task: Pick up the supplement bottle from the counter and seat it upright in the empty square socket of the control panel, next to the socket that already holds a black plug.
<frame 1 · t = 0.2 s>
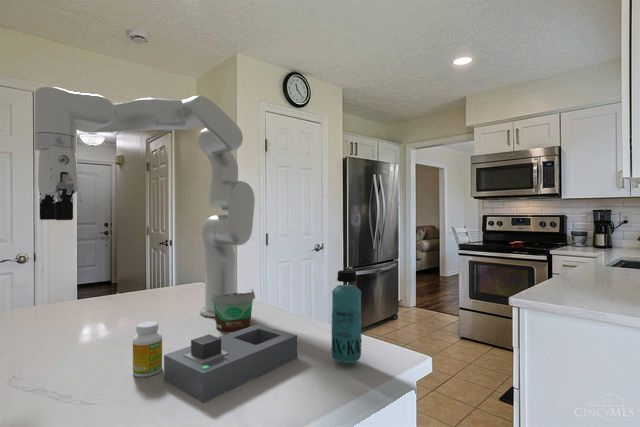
hand: (56, 219, 81), 31 cm above the counter, fingers open, 9 cm apart
control panel: (235, 368, 74), on the counter
supplement bottle: (147, 372, 73), on the counter
beverage bottle: (346, 364, 76), on the counter
food container: (236, 330, 99), on the counter
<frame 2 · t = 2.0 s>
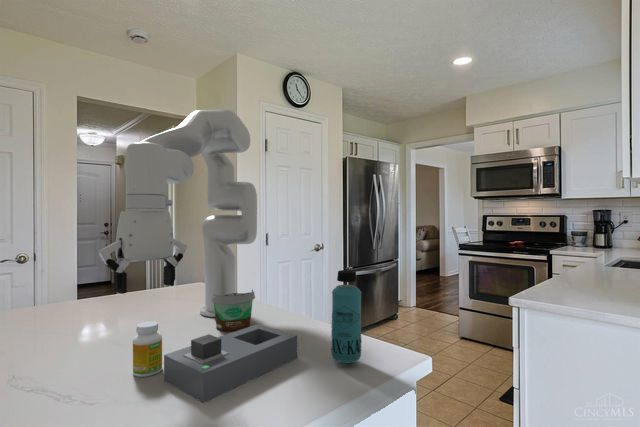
hand: (146, 288, 72), 17 cm above the counter, fingers open, 9 cm apart
nothing on the counter moved.
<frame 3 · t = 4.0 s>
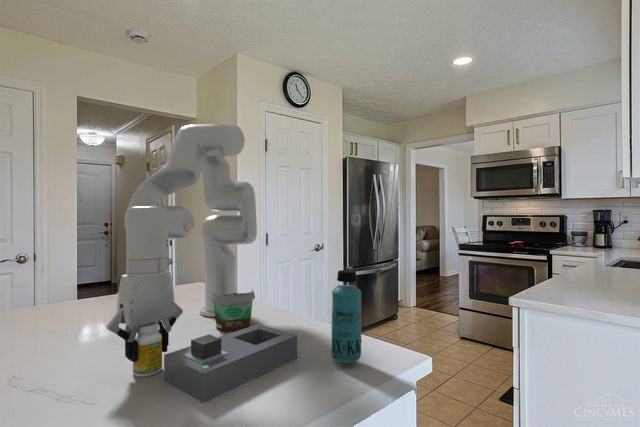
hand: (147, 354, 73), 4 cm above the counter, fingers closed on supplement bottle, 5 cm apart
supplement bottle: (147, 372, 73), on the counter, touching gripper
everything else where it was.
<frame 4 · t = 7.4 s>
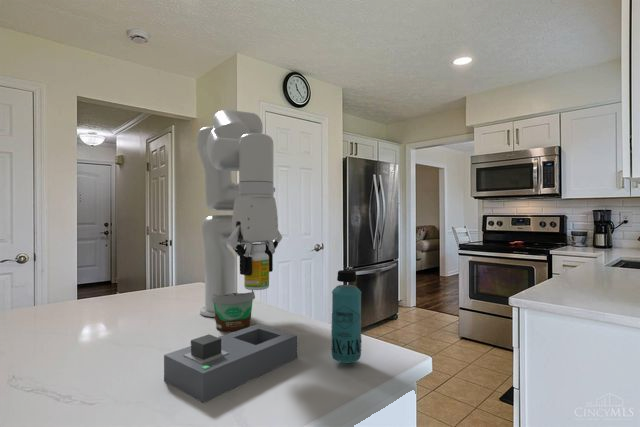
hand: (256, 272, 79), 19 cm above the counter, fingers closed on supplement bottle, 5 cm apart
supplement bottle: (256, 288, 79), point 16 cm above the counter, touching gripper
everything else where it was.
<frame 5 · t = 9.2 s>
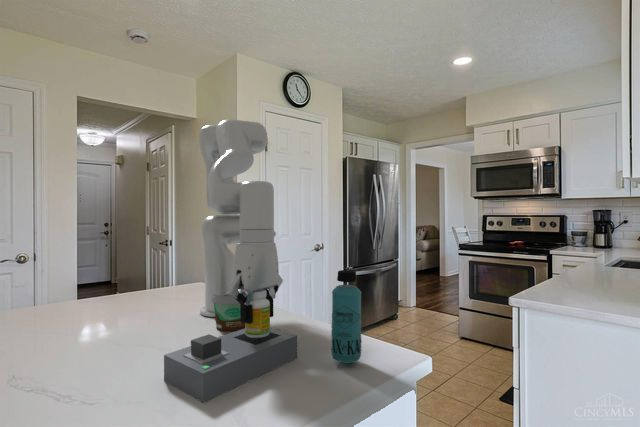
hand: (257, 318, 79), 9 cm above the counter, fingers closed on supplement bottle, 5 cm apart
supplement bottle: (257, 335, 79), point 5 cm above the counter, touching gripper
everything else where it was.
when the fingers open (6 cm above the counter, at t = 10.6 s): supplement bottle drops 2 cm, resting on control panel.
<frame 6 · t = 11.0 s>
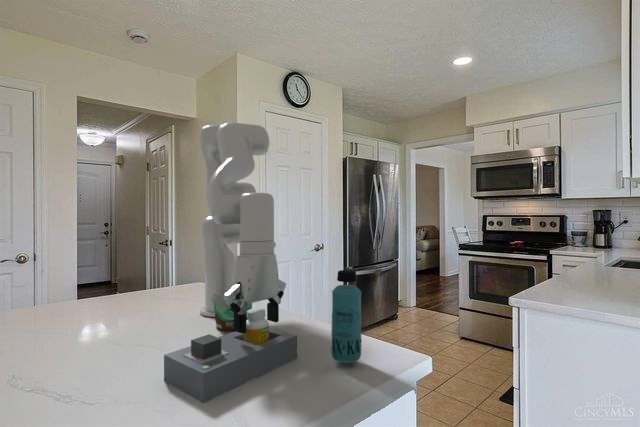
hand: (257, 326, 79), 7 cm above the counter, fingers open, 9 cm apart
supplement bottle: (256, 355, 79), point 1 cm above the counter, touching control panel
everything else where it was.
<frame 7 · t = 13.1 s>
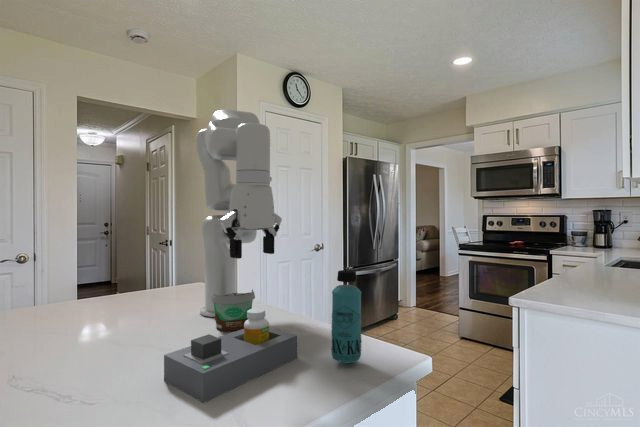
hand: (253, 255, 81), 23 cm above the counter, fingers open, 9 cm apart
nothing on the counter moved.
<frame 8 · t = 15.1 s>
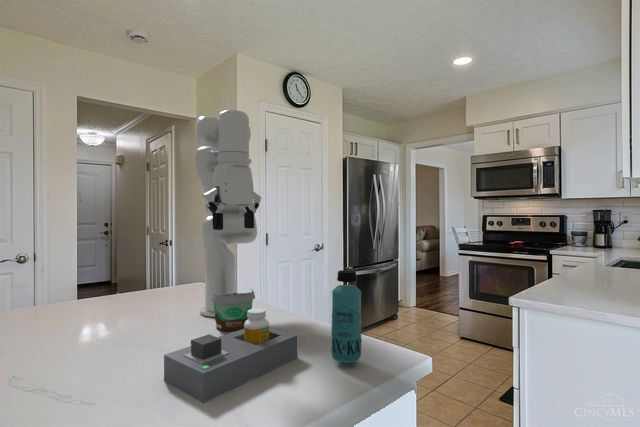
hand: (234, 228, 90), 28 cm above the counter, fingers open, 9 cm apart
nothing on the counter moved.
at the end: supplement bottle 0.1 cm from the target spot on the control panel, point 0.8 cm above the control panel's base; supplement bottle tilted 0°; the gripper is holding nothing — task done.
